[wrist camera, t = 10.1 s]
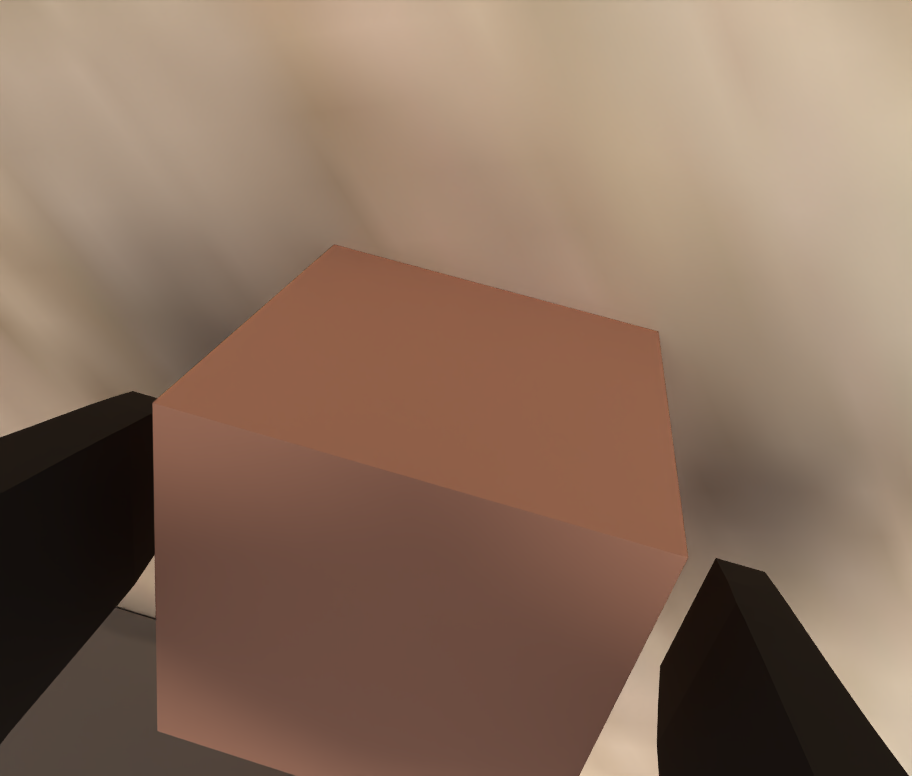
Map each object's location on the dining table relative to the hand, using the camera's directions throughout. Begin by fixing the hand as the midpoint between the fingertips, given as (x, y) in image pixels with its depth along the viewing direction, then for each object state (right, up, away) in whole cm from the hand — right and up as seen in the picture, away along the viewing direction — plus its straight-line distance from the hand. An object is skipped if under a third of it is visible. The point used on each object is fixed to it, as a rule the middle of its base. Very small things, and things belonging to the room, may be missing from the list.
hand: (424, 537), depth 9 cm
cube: (0, +1, +3) cm, 3 cm away
